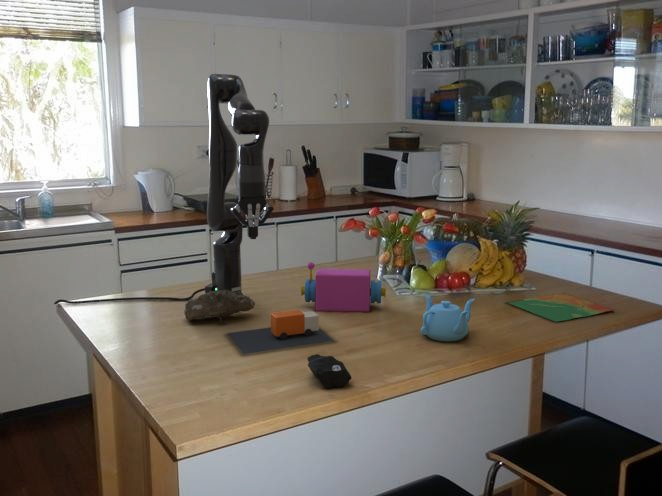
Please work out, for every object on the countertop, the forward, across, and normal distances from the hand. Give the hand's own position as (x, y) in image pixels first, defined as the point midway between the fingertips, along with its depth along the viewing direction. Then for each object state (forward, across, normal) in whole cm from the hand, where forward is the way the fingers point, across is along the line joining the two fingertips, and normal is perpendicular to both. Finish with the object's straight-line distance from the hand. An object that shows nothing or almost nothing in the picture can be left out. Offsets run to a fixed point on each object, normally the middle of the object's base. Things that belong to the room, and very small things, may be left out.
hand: (252, 238), depth 195 cm
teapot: (+27, -49, +30) cm, 64 cm away
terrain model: (+26, -98, +21) cm, 103 cm away
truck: (+22, -2, +14) cm, 26 cm away
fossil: (+27, +8, -9) cm, 30 cm away
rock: (+27, -4, +48) cm, 55 cm away
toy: (+27, -32, -7) cm, 42 cm away
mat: (+27, -4, +14) cm, 30 cm away
